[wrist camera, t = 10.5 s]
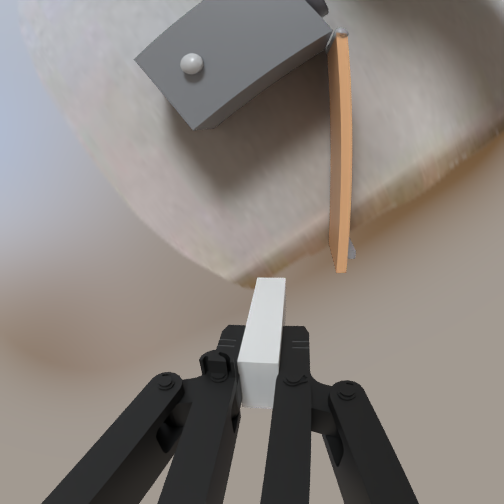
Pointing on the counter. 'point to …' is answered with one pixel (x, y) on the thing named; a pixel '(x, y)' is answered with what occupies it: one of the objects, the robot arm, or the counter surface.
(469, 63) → the counter surface
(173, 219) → the counter surface
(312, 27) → the camera housing
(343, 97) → the door
